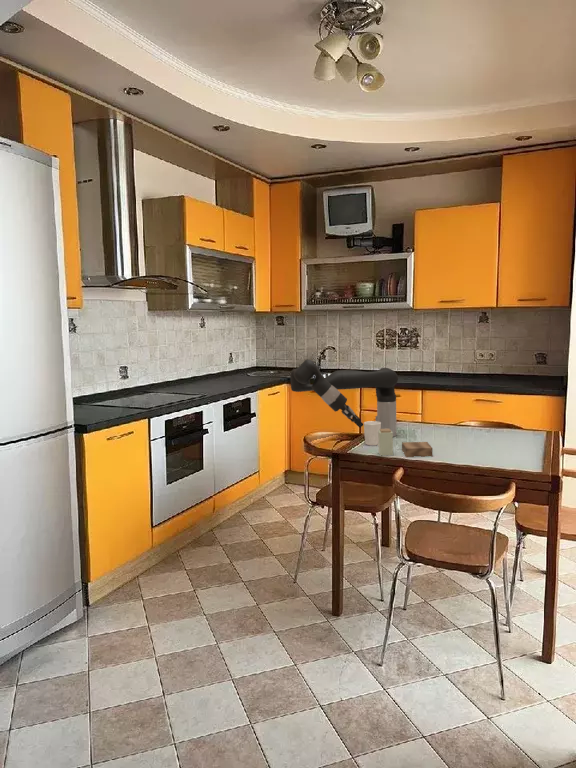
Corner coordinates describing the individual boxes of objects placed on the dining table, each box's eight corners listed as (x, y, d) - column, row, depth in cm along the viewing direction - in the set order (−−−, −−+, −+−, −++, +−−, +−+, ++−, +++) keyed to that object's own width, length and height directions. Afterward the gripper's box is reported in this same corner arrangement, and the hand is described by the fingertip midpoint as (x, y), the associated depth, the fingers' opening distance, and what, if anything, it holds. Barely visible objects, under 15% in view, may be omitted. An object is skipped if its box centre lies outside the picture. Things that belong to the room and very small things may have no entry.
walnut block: (406, 457, 240) (406, 448, 240) (401, 451, 251) (401, 442, 251) (432, 457, 240) (432, 448, 239) (427, 450, 251) (427, 441, 250)
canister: (380, 456, 243) (379, 431, 242) (378, 452, 249) (378, 428, 247) (392, 455, 243) (392, 430, 242) (390, 452, 248) (390, 428, 247)
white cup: (364, 445, 261) (363, 424, 260) (364, 441, 269) (363, 421, 268) (381, 445, 260) (381, 424, 259) (381, 441, 268) (380, 420, 267)
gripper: (326, 401, 250) (353, 426, 251) (328, 407, 236) (356, 434, 237) (338, 389, 249) (365, 414, 251) (340, 394, 235) (368, 421, 236)
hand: (360, 424), depth 244 cm, fingers open, 8 cm apart
